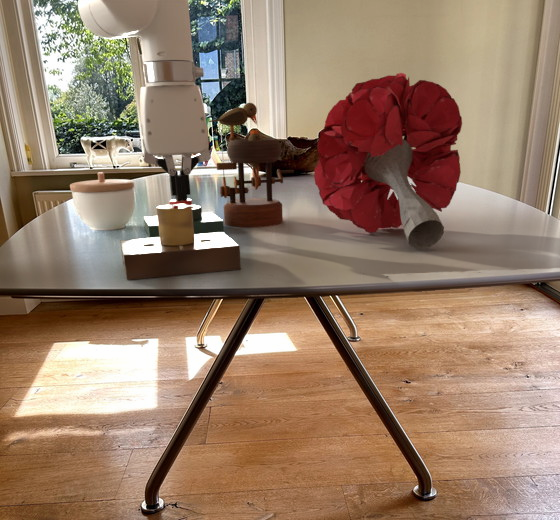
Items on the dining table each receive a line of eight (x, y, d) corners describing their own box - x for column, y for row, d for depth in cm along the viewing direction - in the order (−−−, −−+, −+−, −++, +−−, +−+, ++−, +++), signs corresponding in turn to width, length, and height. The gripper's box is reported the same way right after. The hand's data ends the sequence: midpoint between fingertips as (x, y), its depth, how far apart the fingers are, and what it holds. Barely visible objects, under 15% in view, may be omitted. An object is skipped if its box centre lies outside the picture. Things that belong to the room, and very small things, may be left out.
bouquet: (482, 283, 91) (419, 167, 109) (534, 143, 72) (447, 30, 90) (344, 302, 89) (303, 181, 106) (361, 163, 70) (307, 44, 87)
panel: (127, 280, 71) (123, 253, 70) (122, 262, 80) (119, 239, 79) (240, 269, 75) (239, 244, 74) (224, 253, 84) (223, 230, 82)
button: (171, 213, 97) (170, 202, 96) (169, 210, 100) (168, 199, 100) (193, 211, 98) (193, 200, 97) (190, 208, 101) (189, 198, 100)
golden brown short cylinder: (158, 240, 78) (154, 202, 76) (192, 238, 79) (189, 200, 77) (161, 247, 74) (157, 207, 72) (197, 244, 75) (193, 204, 73)
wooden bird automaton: (227, 230, 100) (215, 100, 94) (209, 226, 110) (198, 108, 103) (309, 222, 105) (304, 98, 99) (285, 219, 115) (279, 106, 108)
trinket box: (94, 235, 99) (85, 176, 96) (66, 228, 107) (57, 173, 103) (150, 226, 106) (144, 171, 102) (120, 220, 113) (113, 168, 110)
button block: (150, 240, 95) (147, 214, 93) (144, 229, 103) (142, 206, 102) (224, 234, 98) (222, 209, 96) (212, 224, 106) (211, 201, 105)
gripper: (213, 77, 96) (221, 194, 104) (118, 78, 93) (133, 200, 100) (222, 74, 90) (230, 199, 97) (120, 75, 86) (137, 206, 93)
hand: (181, 199), depth 99 cm, fingers closed
